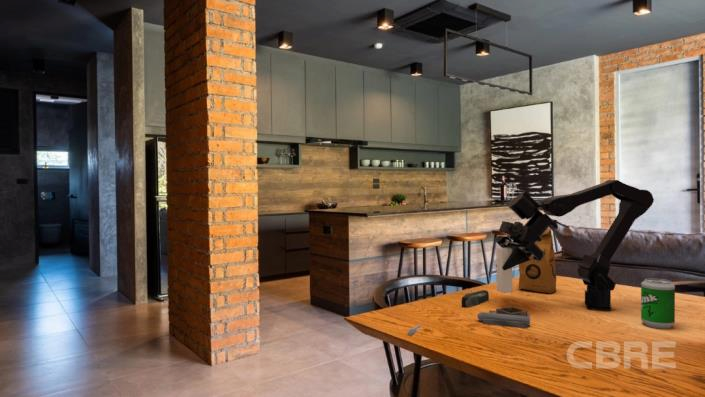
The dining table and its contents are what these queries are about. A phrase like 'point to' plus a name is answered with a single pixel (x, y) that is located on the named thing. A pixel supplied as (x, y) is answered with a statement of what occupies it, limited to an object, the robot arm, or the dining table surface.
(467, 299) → the mobile phone
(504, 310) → the clamp board
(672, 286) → the soda can
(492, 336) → the dining table surface
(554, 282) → the coffee package
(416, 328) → the adjustable wrench
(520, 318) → the grey domed rod
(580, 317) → the dining table surface
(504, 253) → the pin
